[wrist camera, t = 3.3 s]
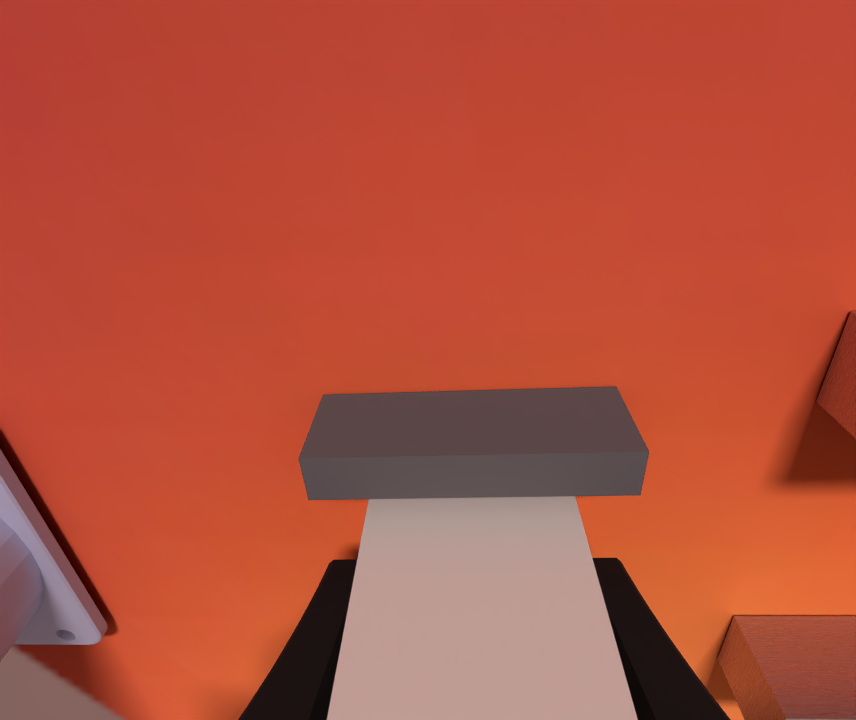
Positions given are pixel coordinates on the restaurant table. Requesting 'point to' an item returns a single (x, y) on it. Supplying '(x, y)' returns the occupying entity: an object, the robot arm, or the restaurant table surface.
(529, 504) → the plug
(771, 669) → the block
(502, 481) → the pair of grey blocks
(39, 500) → the restaurant table surface
